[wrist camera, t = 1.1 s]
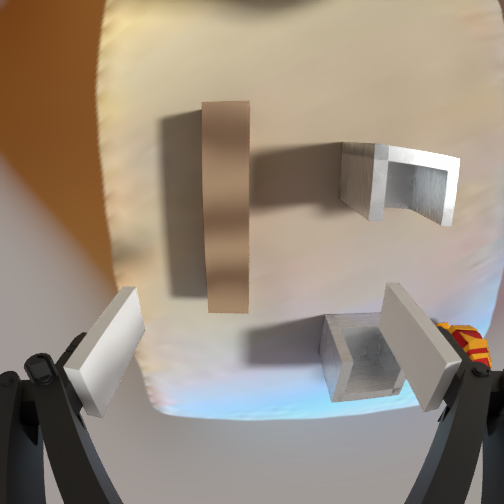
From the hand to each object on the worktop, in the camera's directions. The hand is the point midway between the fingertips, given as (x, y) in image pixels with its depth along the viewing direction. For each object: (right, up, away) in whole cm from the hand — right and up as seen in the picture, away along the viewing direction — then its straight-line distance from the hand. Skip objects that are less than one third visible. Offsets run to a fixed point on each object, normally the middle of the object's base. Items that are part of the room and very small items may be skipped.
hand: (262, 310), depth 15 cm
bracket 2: (+12, -7, +22) cm, 26 cm away
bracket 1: (+13, +11, +15) cm, 22 cm away
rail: (-3, +8, +16) cm, 18 cm away
